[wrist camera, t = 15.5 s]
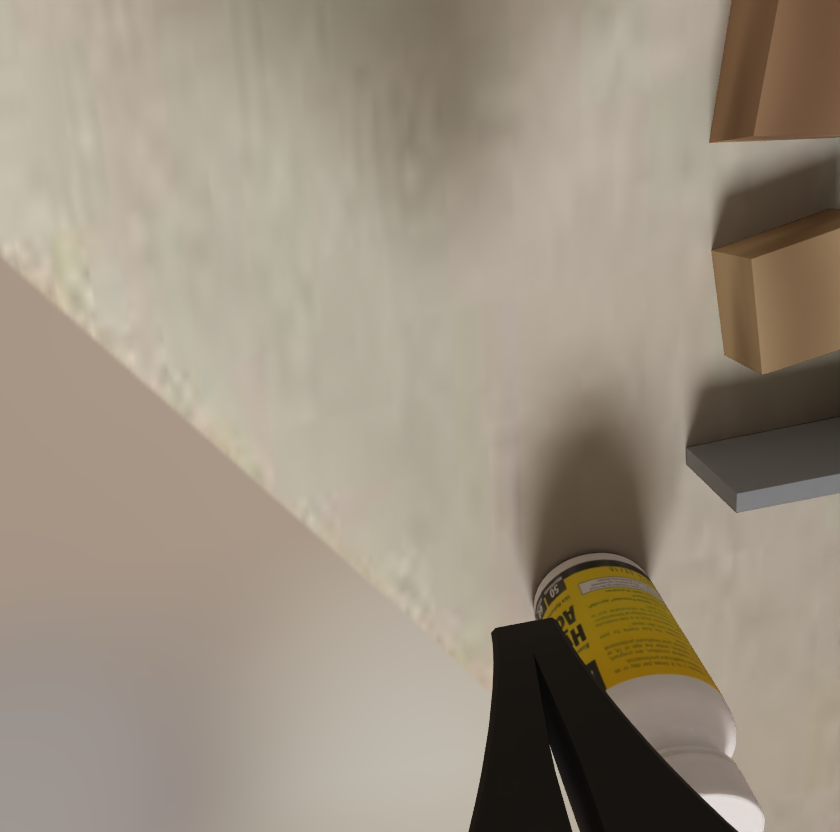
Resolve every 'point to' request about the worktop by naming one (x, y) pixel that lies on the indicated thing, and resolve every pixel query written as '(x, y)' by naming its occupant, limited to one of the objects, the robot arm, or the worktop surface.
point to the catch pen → (771, 465)
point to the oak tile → (781, 293)
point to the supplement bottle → (651, 674)
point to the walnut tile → (779, 72)
